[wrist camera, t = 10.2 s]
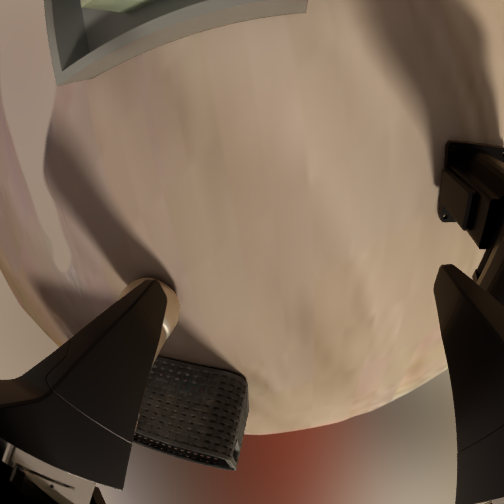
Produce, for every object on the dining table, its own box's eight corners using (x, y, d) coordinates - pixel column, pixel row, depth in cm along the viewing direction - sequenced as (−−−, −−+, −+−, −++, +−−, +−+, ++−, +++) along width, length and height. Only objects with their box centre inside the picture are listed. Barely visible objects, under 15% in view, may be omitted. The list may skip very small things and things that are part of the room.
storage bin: (124, 382, 51) (104, 431, 41) (86, 332, 39) (52, 393, 29) (249, 412, 47) (238, 472, 37) (248, 370, 36) (229, 458, 25)
